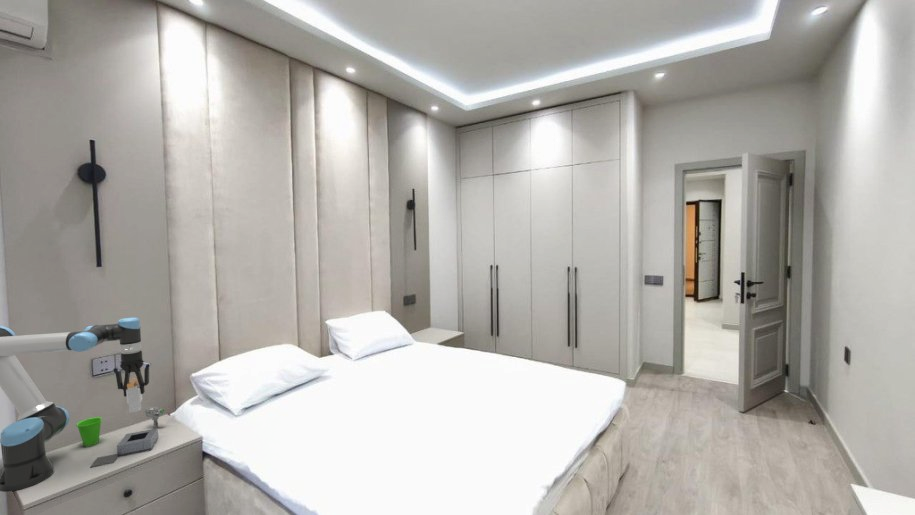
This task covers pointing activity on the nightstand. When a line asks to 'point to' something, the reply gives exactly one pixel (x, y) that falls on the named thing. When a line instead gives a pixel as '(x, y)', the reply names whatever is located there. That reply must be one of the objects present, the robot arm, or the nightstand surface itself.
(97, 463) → the mat
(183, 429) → the nightstand surface
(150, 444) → the chuck block
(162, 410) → the mechanical component
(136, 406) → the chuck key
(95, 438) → the cup
